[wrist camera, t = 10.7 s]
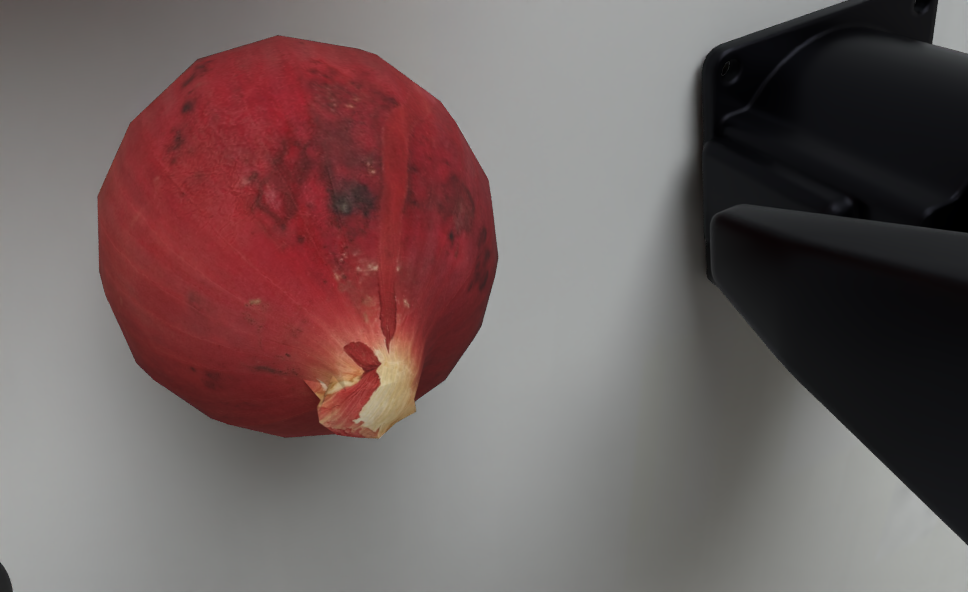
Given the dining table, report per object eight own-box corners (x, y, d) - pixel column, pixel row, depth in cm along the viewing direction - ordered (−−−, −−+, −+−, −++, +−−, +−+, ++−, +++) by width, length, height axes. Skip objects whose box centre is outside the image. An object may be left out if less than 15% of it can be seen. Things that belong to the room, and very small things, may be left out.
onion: (96, -31, 13) (105, 115, 6) (431, 25, 15) (676, 169, 9) (93, 294, 15) (98, 632, 9) (383, 295, 18) (548, 557, 11)
